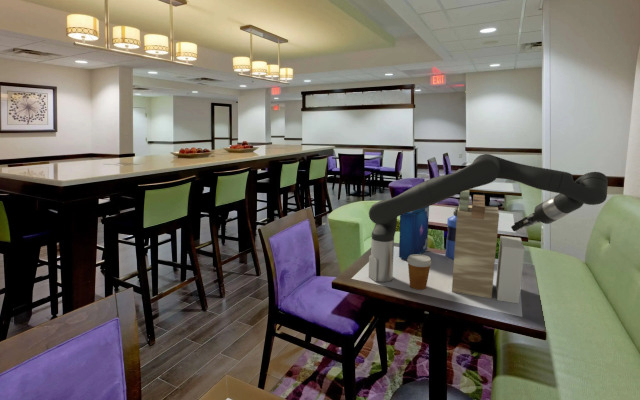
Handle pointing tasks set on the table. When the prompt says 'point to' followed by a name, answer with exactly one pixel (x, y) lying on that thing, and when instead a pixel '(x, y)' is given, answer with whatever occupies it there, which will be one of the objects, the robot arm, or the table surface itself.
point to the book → (413, 232)
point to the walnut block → (478, 206)
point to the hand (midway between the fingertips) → (521, 226)
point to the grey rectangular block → (509, 269)
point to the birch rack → (474, 250)
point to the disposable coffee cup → (418, 270)
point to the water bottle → (451, 235)
